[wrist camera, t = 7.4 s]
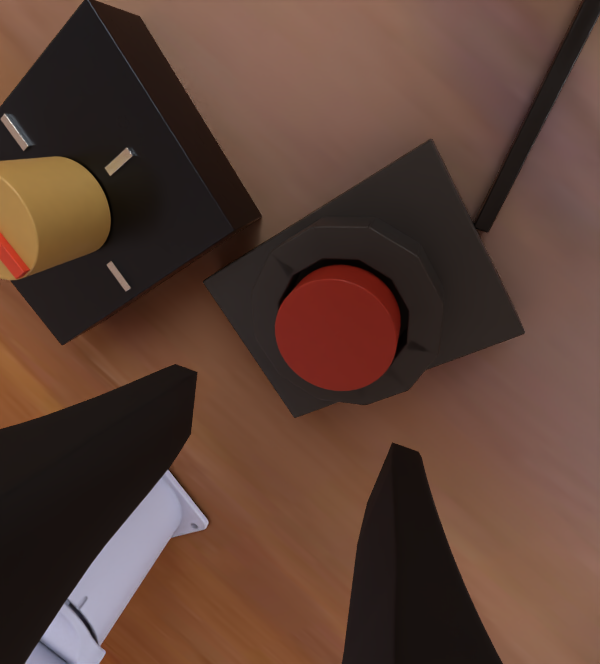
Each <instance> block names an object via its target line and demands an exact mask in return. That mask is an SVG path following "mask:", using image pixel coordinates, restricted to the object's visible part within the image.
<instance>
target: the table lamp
mask: <svg viewBox="0 0 600 664" xmlns="http://www.w3.org/2000/svg"><path fill="white" fill-rule="evenodd" d="M599 15H600V0H582V1H581V3H580V5H579V7H578V9H577V11H576V13H575V16H574V18H573V20H572V22H571V24H570V26H569V28H568V30H567V32H566V34H565V36H564V38H563V40H562V42H561V44H560V46H559V48H558V50H557V52H556V55H555V57H554V59H553V61H552V63H551V65H550V67H549V69H548V71H547V73H546V75H545V77H544V79H543V81H542V83H541V85H540V87H539V89H538V91H537V94H536V96H535V98H534V100H533V102H532V104H531V106H530V108H529V110H528V112H527V114H526V116H525V118H524V120H523V122H522V124H521V126H520V128H519V130H518V133H517V135H516V137H515V139H514V141H513V143H512V145H511V147H510V149H509V151H508V153H507V155H506V157H505V159H504V161H503V163H502V165H501V167H500V170H499V172H498V174H497V176H496V178H495V180H494V182H493V184H492V186H491V188H490V190H489V192H488V194H487V196H486V198H485V200H484V202H483V204H482V206H481V209H480V211H479V213H478V215H477V217H476V219H475V221H474V223H473V224H474V226H475V228H476V229H478V230H481V231H484V232H489V230H490V228H491V226H492V224H493V222H494V221H495V219H496V217H497V215H498V213H499V211H500V209H501V207H502V205H503V203H504V201H505V199H506V197H507V195H508V193H509V191H510V189H511V187H512V185H513V183H514V181H515V179H516V177H517V175H518V174H519V172H520V170H521V168H522V166H523V164H524V162H525V160H526V158H527V156H528V154H529V152H530V150H531V148H532V146H533V144H534V142H535V140H536V138H537V136H538V134H539V132H540V130H541V128H542V127H543V125H544V123H545V121H546V119H547V117H548V115H549V113H550V111H551V109H552V107H553V105H554V103H555V101H556V99H557V97H558V95H559V93H560V91H561V89H562V87H563V85H564V83H565V82H566V80H567V78H568V76H569V74H570V72H571V70H572V68H573V66H574V64H575V62H576V60H577V58H578V56H579V54H580V52H581V50H582V48H583V46H584V44H585V42H586V40H587V38H588V36H589V35H590V33H591V31H592V29H593V27H594V25H595V23H596V21H597V19H598V17H599Z"/></svg>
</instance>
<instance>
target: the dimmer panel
mask: <svg viewBox="0 0 600 664" xmlns="http://www.w3.org/2000/svg"><path fill="white" fill-rule="evenodd" d="M54 156H58V157H65V158H68V159H71V160H73V161H75V162H77V163H79V164H80V165H82V166H83V167H84V168H86V169H87V170H88V171H89V172H90V173H91V174H92V175H93V176H94V178H95V179H96V180H97V182H98V183H99V185H100V186H101V188H102V190H103V192H104V194H105V196H106V199H107V201H108V205H109V209H110V216H111V225H110V231H109V235H108V237H107V239H106V241H105V243H104V244H103V245H102V246H101V247H100V248H99V249H98V250H96V251H94V252H92V253H90V254H87V255H84V256H81V257H79V258H76V259H73V260H71V261H68V262H65V263H63V264H60V265H57V266H54V267H52V268H49V269H46V270H44V271H41V272H38V273H35V274H33V275H30V276H27V277H25V278H22V279H18V280H10V281H11V282H12V283H13V285H14V286H15V287H16V288H17V290H18V291H19V292H20V293H21V295H22V296H23V297H24V298H25V300H26V301H27V302H28V303H29V305H30V306H31V307H32V308H33V310H34V311H35V312H36V314H37V315H38V316H39V317H40V319H41V320H42V321H43V322H44V324H45V325H46V326H47V327H48V329H49V330H50V331H51V332H52V334H53V335H54V336H55V337H56V339H57V340H58V341H59V342H60V344H61V345H64V344H66V343H67V342H69V341H71V340H73V339H74V338H76V337H78V336H79V335H81V334H83V333H85V332H86V331H88V330H90V329H91V328H93V327H95V326H96V325H98V324H100V323H102V322H103V321H105V320H106V319H108V318H109V317H111V316H112V315H114V314H115V313H117V312H118V311H120V310H121V309H123V308H124V307H126V306H127V305H129V304H130V303H132V302H133V301H135V300H136V299H138V298H139V297H141V296H142V295H144V294H145V293H147V292H149V291H150V290H152V289H153V288H155V287H156V286H158V285H159V284H161V283H162V282H164V281H165V280H167V279H168V278H170V277H171V276H173V275H174V274H176V273H177V272H179V271H180V270H182V269H183V268H185V267H186V266H188V265H189V264H191V263H192V262H194V261H195V260H197V259H198V258H200V257H201V256H203V255H204V254H206V253H208V252H209V251H211V250H212V249H214V248H215V247H217V246H218V245H220V244H221V243H223V242H224V241H226V240H227V239H229V238H230V237H232V236H233V235H235V234H236V233H238V232H239V231H241V230H242V229H244V228H245V227H247V226H248V225H250V224H251V223H253V222H254V221H256V220H257V219H259V218H260V217H261V214H260V212H259V210H258V209H257V207H256V206H255V204H254V202H253V201H252V199H251V197H250V196H249V194H248V192H247V191H246V189H245V188H244V186H243V184H242V183H241V181H240V179H239V178H238V176H237V174H236V173H235V171H234V170H233V168H232V166H231V165H230V163H229V161H228V160H227V158H226V157H225V155H224V153H223V152H222V150H221V148H220V147H219V145H218V143H217V142H216V140H215V139H214V137H213V135H212V134H211V132H210V130H209V129H208V127H207V125H206V124H205V122H204V121H203V119H202V117H201V116H200V114H199V112H198V111H197V109H196V107H195V106H194V104H193V103H192V101H191V99H190V98H189V96H188V94H187V93H186V91H185V89H184V88H183V86H182V85H181V83H180V81H179V80H178V78H177V76H176V75H175V73H174V71H173V70H172V68H171V67H170V65H169V63H168V62H167V60H166V58H165V57H164V55H163V54H162V52H161V50H160V49H159V47H158V45H157V44H156V42H155V40H154V39H153V37H152V36H151V34H150V32H149V31H148V29H147V27H146V26H145V24H144V22H143V21H142V19H141V18H140V16H137V15H135V14H132V13H129V12H126V11H124V10H121V9H118V8H115V7H112V6H110V5H107V4H104V3H101V2H98V1H96V0H84V1H83V2H82V4H81V5H80V6H79V7H78V9H77V10H76V11H75V12H74V14H73V15H72V16H71V18H70V19H69V20H68V21H67V23H66V24H65V25H64V26H63V28H62V29H61V30H60V32H59V33H58V34H57V35H56V37H55V38H54V39H53V40H52V42H51V43H50V44H49V45H48V47H47V48H46V49H45V51H44V52H43V53H42V54H41V56H40V57H39V58H38V59H37V61H36V62H35V63H34V65H33V66H32V67H31V68H30V70H29V71H28V72H27V73H26V75H25V76H24V77H23V78H22V80H21V81H20V82H19V84H18V85H17V86H16V87H15V89H14V90H13V91H12V92H11V94H10V95H9V96H8V97H7V99H6V100H5V101H4V103H3V104H2V105H1V106H0V161H6V160H18V159H30V158H42V157H54Z"/></svg>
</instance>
